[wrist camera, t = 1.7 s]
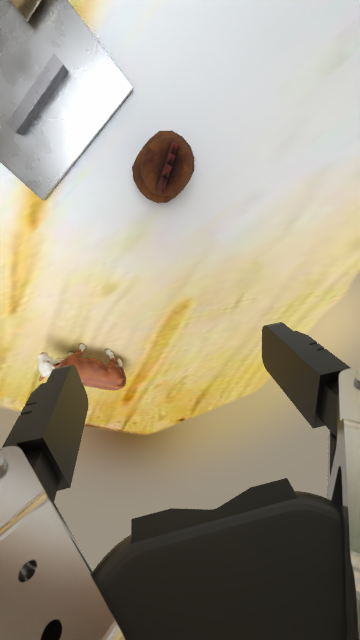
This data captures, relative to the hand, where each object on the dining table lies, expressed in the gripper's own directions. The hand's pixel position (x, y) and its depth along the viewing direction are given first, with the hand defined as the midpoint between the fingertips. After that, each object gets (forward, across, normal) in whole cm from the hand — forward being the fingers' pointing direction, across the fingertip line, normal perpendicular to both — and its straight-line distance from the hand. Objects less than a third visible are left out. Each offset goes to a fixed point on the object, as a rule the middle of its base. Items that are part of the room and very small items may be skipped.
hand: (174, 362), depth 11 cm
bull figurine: (+30, +13, +15) cm, 36 cm away
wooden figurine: (+28, -4, -10) cm, 30 cm away
